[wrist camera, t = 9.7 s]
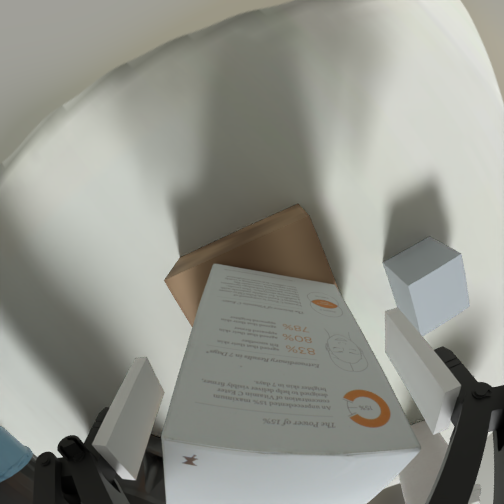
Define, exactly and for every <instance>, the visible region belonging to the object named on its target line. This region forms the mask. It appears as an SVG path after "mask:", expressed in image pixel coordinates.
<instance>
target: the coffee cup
mask: <svg viewBox="0 0 504 504" xmlns="http://www.w3.org/2000/svg"><path fill="white" fill-rule="evenodd" d="M410 426H411V428H412V430H413V431H414V433H415V435H416V437H417V439H418V441H419V443H420V445H421V450H420V452H419V453H418V454H417V455H416V456H415V457H414V458H413V459H412V460H411V461H410V463H409V464H408V465H407V466H406V467H405V468H404V469H403V470H402V471H401V472H400V473H399V478H400V482H401V487H402V490H403V495H404V500H405V504H425V503H426V501H427V498H428V496H429V494H430V492H431V489H432V487H433V485H434V482H435V480H436V478H437V475H438V473H439V470H440V467H441V465H442V462H443V459H444V457H445V454H446V451H447V448H448V444H447V443H446V441H445V440H444V438H443V437H442V436H441V434H440V433H437V434H435V435H433V434H432V432H431V430H430V428H429V427H428V425H427V423H426V421H421V422H418V423H415V424H413V425H410ZM480 494H481V486H480V485H479V484H474V487H473V490H472V493H471V496H470V499H469V502H468V504H479V503H480V499H479V496H480Z"/></svg>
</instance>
